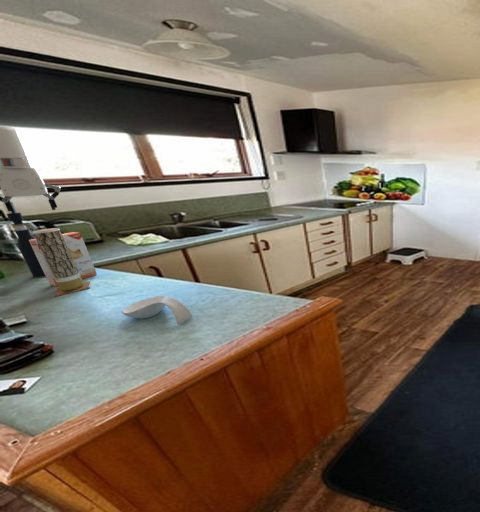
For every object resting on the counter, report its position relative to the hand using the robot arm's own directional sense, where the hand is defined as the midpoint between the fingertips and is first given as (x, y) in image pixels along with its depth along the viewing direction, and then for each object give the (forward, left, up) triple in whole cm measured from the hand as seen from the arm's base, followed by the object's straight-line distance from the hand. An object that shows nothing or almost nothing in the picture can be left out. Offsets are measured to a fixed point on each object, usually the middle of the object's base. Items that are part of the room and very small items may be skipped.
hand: (35, 211), depth 103 cm
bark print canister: (+1, 0, -33) cm, 33 cm away
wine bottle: (-10, +36, -33) cm, 50 cm away
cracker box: (+1, +14, -33) cm, 36 cm away
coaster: (+1, 0, -33) cm, 33 cm away
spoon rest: (+23, -57, -33) cm, 70 cm away
